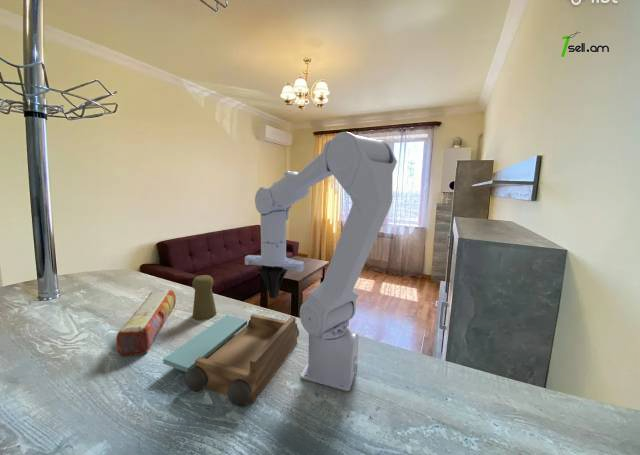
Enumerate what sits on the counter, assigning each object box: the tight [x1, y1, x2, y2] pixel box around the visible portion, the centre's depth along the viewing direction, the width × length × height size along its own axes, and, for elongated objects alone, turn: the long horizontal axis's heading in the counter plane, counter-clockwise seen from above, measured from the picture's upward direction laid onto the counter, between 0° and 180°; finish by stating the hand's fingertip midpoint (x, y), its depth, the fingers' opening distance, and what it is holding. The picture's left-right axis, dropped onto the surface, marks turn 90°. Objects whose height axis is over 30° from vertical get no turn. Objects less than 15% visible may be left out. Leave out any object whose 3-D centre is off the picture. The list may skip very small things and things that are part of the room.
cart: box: [183, 313, 300, 408], centre depth 54 cm, size 13×20×7 cm, turn 161°
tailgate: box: [162, 314, 248, 373], centre depth 57 cm, size 2×18×7 cm
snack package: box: [115, 288, 177, 358], centre depth 64 cm, size 21×7×7 cm, turn 15°
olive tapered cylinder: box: [191, 274, 217, 321], centre depth 72 cm, size 6×6×11 cm
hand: (273, 296), depth 63 cm, fingers closed
